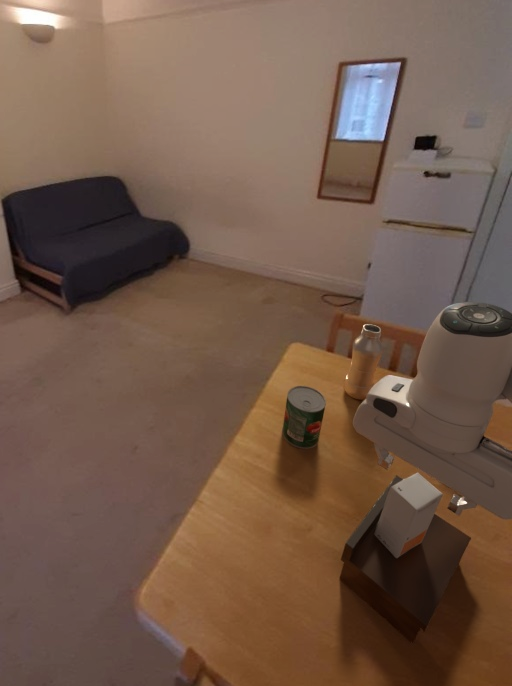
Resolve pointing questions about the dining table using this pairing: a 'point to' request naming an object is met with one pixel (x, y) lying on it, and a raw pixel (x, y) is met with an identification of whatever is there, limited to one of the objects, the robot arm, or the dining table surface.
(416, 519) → the cosmetic box
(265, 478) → the dining table surface
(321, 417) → the canned tomato
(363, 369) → the plastic bottle
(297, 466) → the dining table surface
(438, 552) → the dark brown plinth
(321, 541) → the dining table surface
